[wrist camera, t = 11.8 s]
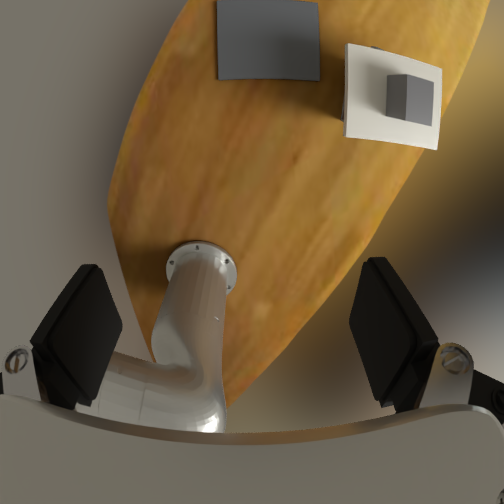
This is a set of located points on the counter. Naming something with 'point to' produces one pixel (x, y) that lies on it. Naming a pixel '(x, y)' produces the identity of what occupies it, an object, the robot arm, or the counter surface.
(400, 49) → the counter surface
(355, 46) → the lid
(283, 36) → the mat
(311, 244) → the counter surface
